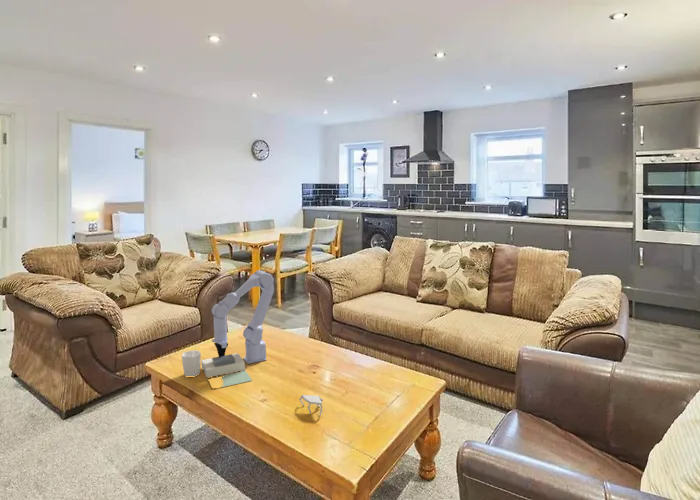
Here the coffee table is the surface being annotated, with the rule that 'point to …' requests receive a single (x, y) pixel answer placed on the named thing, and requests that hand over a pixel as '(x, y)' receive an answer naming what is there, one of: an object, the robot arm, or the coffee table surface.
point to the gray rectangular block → (223, 360)
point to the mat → (235, 378)
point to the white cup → (191, 363)
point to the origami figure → (312, 401)
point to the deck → (223, 366)
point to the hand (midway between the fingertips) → (221, 357)
